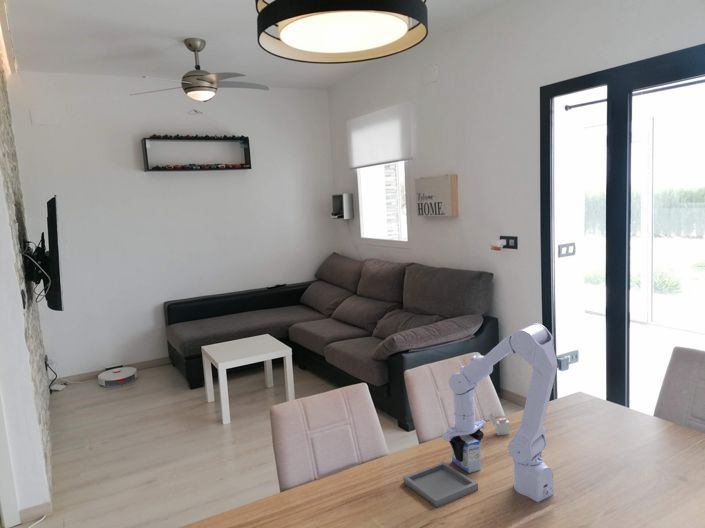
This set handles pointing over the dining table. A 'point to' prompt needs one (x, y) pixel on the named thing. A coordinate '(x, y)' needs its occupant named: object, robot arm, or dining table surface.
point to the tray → (440, 484)
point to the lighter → (500, 425)
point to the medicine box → (469, 454)
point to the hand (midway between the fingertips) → (466, 457)
